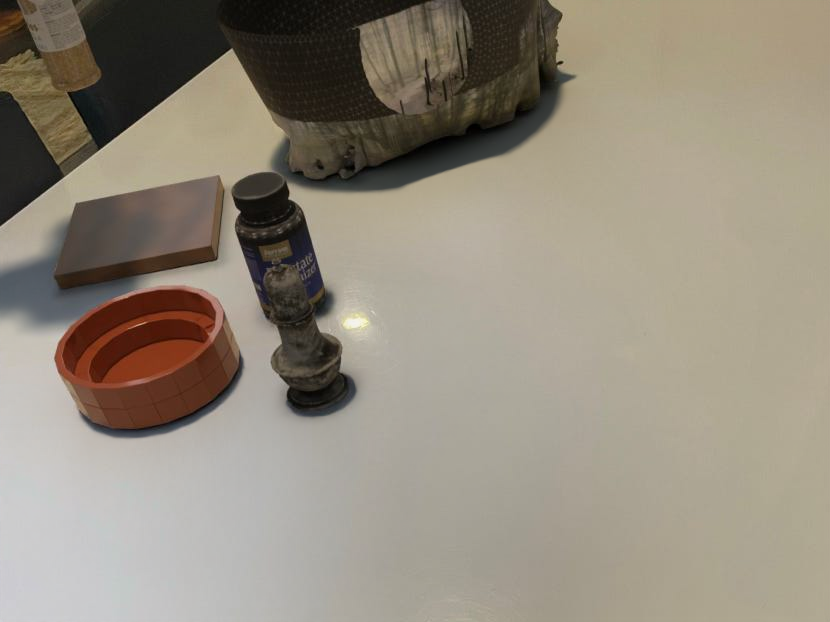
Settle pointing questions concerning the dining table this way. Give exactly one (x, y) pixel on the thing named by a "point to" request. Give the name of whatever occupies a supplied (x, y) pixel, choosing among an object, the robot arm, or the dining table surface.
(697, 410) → the dining table surface
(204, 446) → the dining table surface
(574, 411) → the dining table surface
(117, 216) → the board
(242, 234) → the pill bottle
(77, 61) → the sprinkles bottle
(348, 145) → the basket
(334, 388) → the grey stone chess piece
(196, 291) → the bowl
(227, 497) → the dining table surface
